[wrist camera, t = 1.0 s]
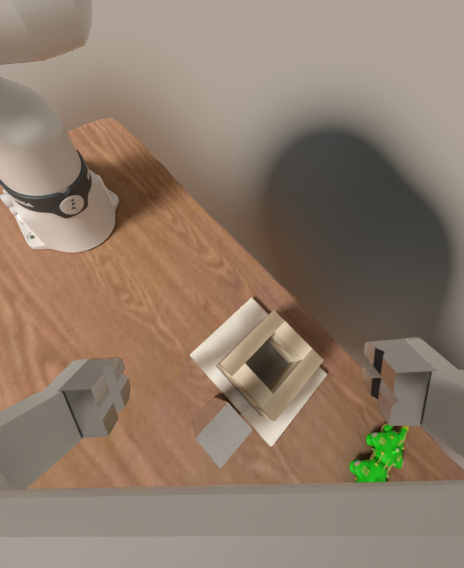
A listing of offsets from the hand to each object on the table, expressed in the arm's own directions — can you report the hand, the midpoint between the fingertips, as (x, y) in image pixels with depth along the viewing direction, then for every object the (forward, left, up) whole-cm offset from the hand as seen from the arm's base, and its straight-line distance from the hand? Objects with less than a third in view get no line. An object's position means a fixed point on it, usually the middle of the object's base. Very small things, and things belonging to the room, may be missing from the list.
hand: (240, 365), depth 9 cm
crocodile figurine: (+31, +13, -40) cm, 52 cm away
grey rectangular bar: (+6, -2, -39) cm, 40 cm away
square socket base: (+6, +10, -39) cm, 41 cm away
